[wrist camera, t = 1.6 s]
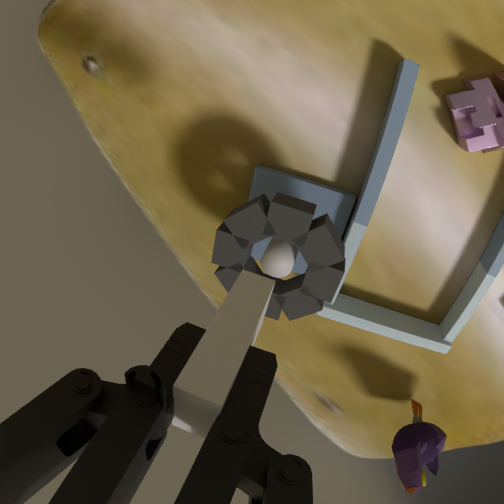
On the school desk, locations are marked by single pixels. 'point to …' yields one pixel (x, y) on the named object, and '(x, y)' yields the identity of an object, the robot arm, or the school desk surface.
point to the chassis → (339, 208)
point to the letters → (479, 114)
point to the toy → (417, 450)
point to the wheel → (289, 230)
